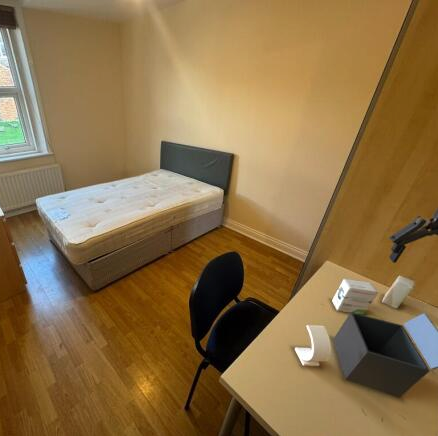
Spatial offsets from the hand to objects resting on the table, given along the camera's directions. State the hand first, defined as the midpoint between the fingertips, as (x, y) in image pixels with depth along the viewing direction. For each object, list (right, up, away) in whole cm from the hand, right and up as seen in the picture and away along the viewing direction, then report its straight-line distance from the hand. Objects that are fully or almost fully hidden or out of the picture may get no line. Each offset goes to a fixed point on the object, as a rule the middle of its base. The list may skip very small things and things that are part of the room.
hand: (418, 264), depth 75 cm
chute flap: (-19, -15, -18) cm, 30 cm away
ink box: (-14, -19, +11) cm, 26 cm away
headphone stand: (-40, -28, -5) cm, 49 cm away
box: (+4, -17, +13) cm, 22 cm away
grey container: (-25, -29, -7) cm, 38 cm away
